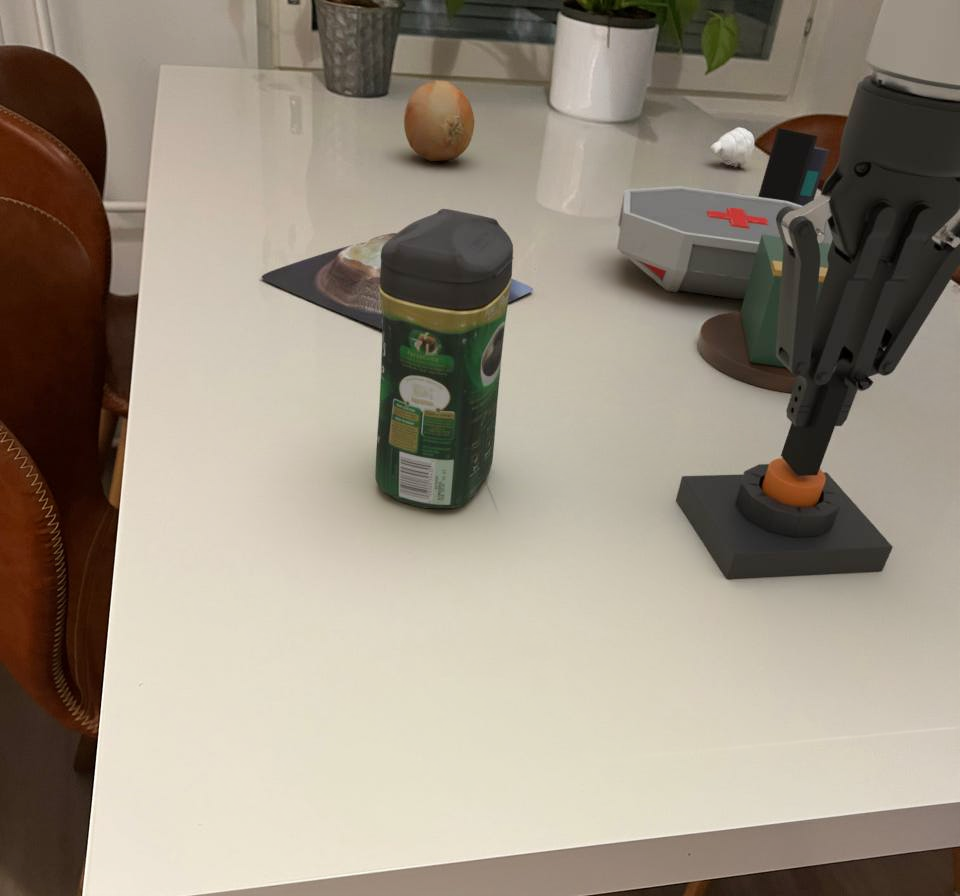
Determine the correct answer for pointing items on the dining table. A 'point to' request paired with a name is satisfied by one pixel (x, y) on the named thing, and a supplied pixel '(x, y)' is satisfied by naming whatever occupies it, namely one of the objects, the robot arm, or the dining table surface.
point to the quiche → (348, 280)
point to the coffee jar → (441, 356)
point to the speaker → (793, 168)
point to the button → (792, 485)
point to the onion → (439, 121)
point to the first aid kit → (697, 236)
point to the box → (768, 299)
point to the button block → (779, 529)
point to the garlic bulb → (735, 147)
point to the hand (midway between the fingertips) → (798, 465)
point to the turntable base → (739, 354)
